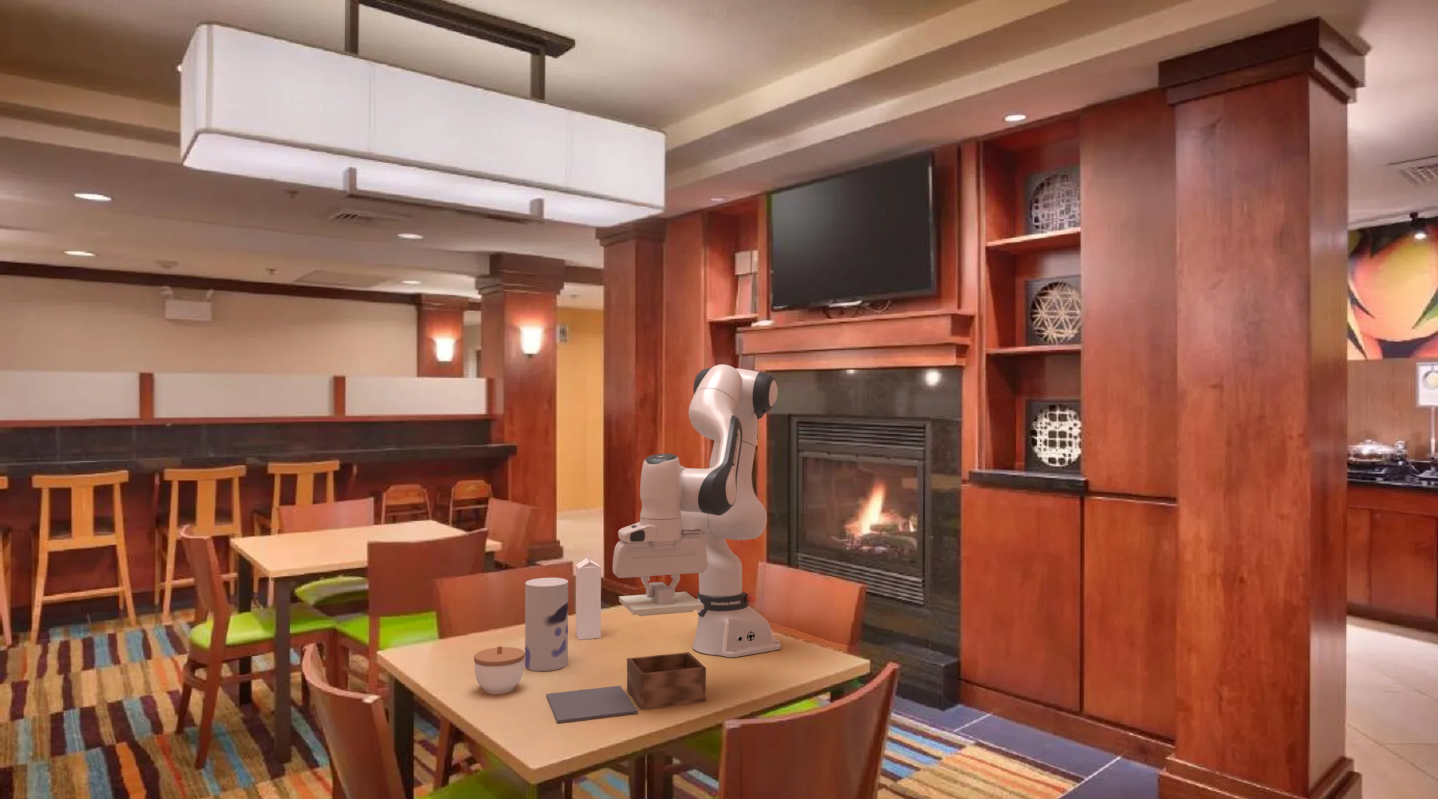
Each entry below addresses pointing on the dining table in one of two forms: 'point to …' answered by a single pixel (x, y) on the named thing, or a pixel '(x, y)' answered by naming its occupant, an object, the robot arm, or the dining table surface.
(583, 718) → the mat
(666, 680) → the box
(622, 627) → the dining table surface
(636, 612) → the lid
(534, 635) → the container
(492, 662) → the lidded jar
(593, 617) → the milk
